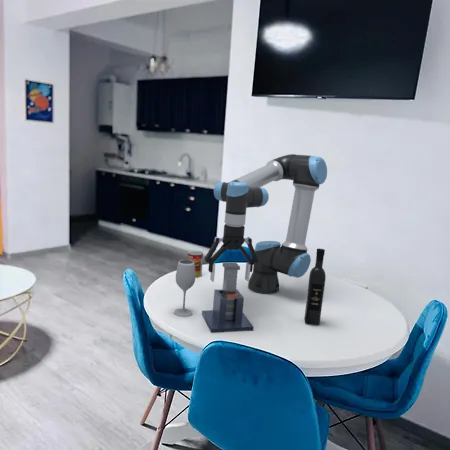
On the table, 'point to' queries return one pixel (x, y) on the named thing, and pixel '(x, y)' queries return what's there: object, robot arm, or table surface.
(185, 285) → the wineglass
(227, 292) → the column
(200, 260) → the canned food
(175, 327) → the table surface
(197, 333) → the table surface
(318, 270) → the wine bottle
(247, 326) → the stand
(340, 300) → the table surface
